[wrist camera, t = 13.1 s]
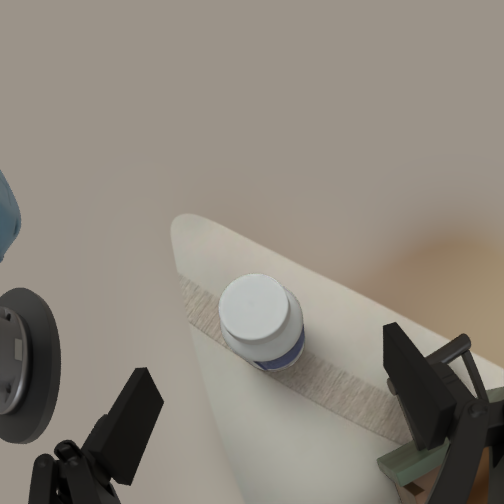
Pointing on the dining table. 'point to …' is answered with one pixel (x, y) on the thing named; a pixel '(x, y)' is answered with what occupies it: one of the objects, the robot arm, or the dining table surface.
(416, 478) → the drawer
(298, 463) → the dining table surface
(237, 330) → the pill bottle
